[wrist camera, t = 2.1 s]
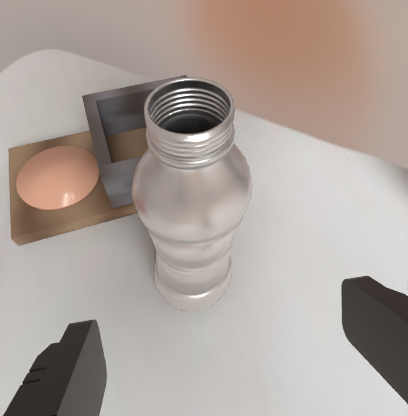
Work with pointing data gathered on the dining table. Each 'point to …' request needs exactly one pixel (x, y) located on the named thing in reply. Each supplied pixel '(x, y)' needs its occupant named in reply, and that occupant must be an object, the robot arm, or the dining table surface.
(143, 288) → the dining table surface
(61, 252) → the dining table surface
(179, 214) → the plastic bottle
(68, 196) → the terracotta coaster
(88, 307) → the dining table surface
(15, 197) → the wooden organizer tray
